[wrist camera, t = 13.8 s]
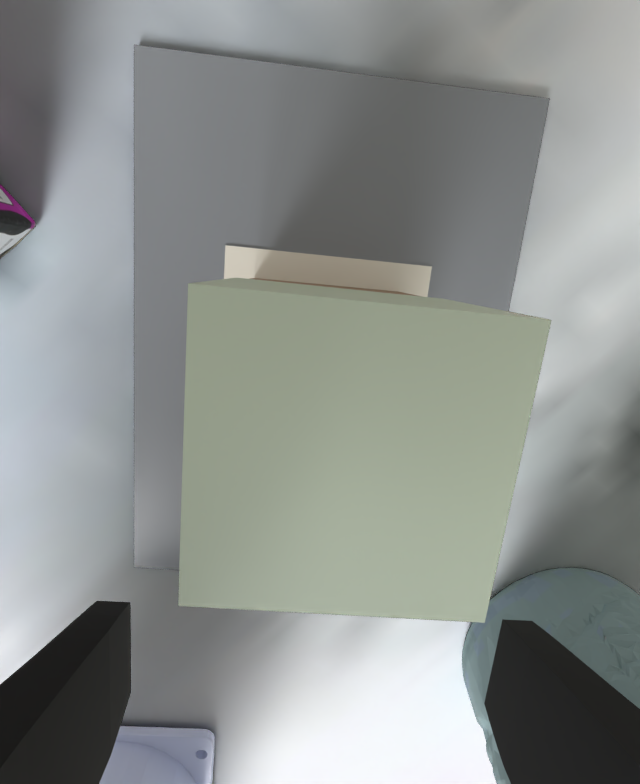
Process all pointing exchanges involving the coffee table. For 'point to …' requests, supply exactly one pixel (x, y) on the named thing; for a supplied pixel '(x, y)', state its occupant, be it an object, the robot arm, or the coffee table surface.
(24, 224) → the candy bar box
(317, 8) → the coffee table surface
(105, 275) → the coffee table surface
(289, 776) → the coffee table surface
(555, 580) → the green plant pot
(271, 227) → the board
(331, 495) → the sage block
